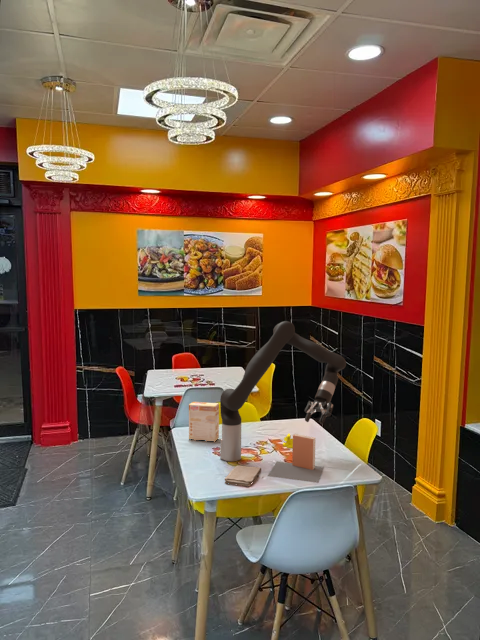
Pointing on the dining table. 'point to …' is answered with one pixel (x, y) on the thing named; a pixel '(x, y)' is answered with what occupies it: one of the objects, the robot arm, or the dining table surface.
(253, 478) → the washcloth
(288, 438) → the crumpled paper
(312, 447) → the tile
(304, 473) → the mat
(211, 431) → the coffeecake box
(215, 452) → the dining table surface
